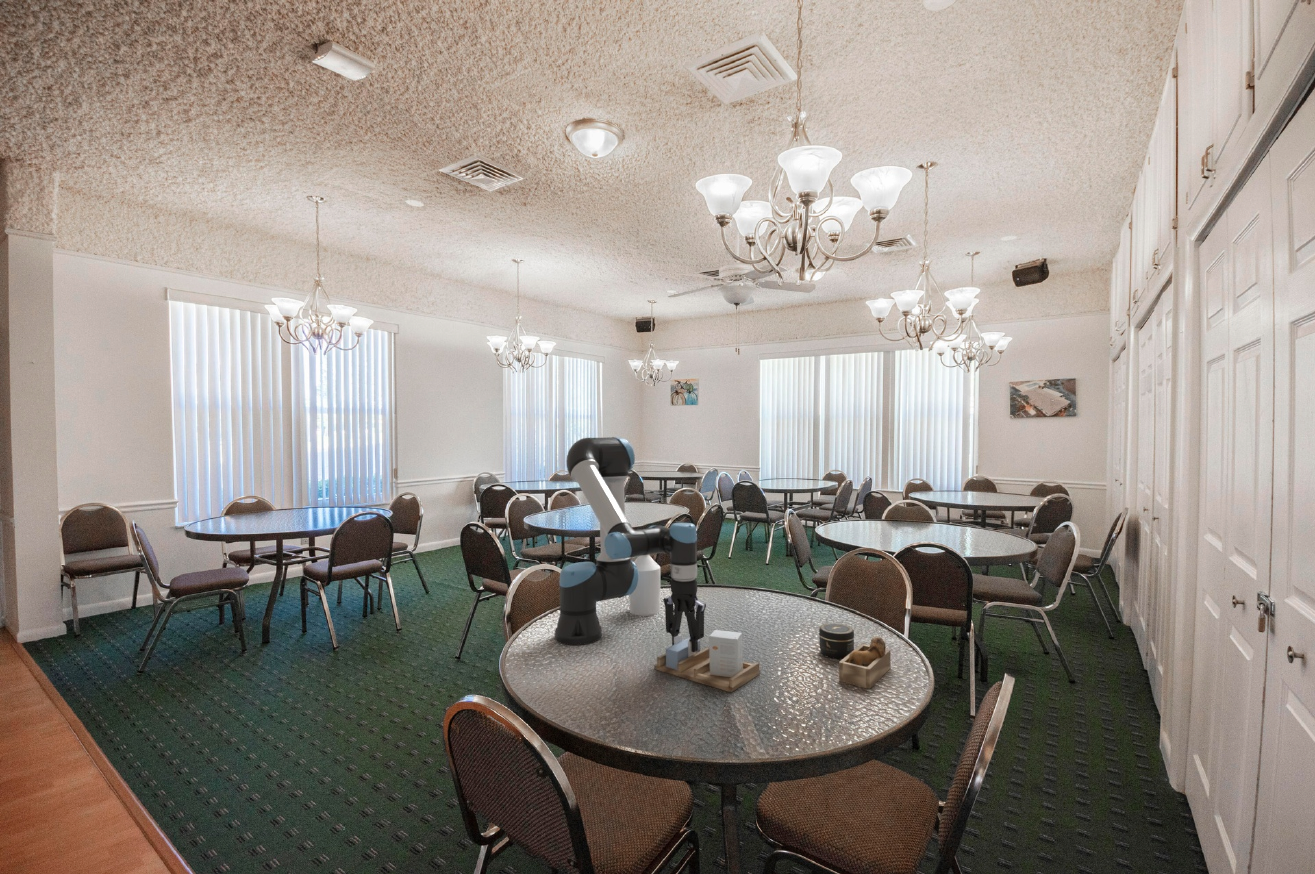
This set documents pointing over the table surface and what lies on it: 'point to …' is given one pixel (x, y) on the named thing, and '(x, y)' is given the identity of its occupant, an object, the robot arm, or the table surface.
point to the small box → (725, 653)
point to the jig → (708, 671)
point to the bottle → (646, 588)
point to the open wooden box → (864, 669)
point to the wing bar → (678, 653)
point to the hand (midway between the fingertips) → (685, 660)
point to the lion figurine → (868, 653)
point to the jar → (836, 640)
